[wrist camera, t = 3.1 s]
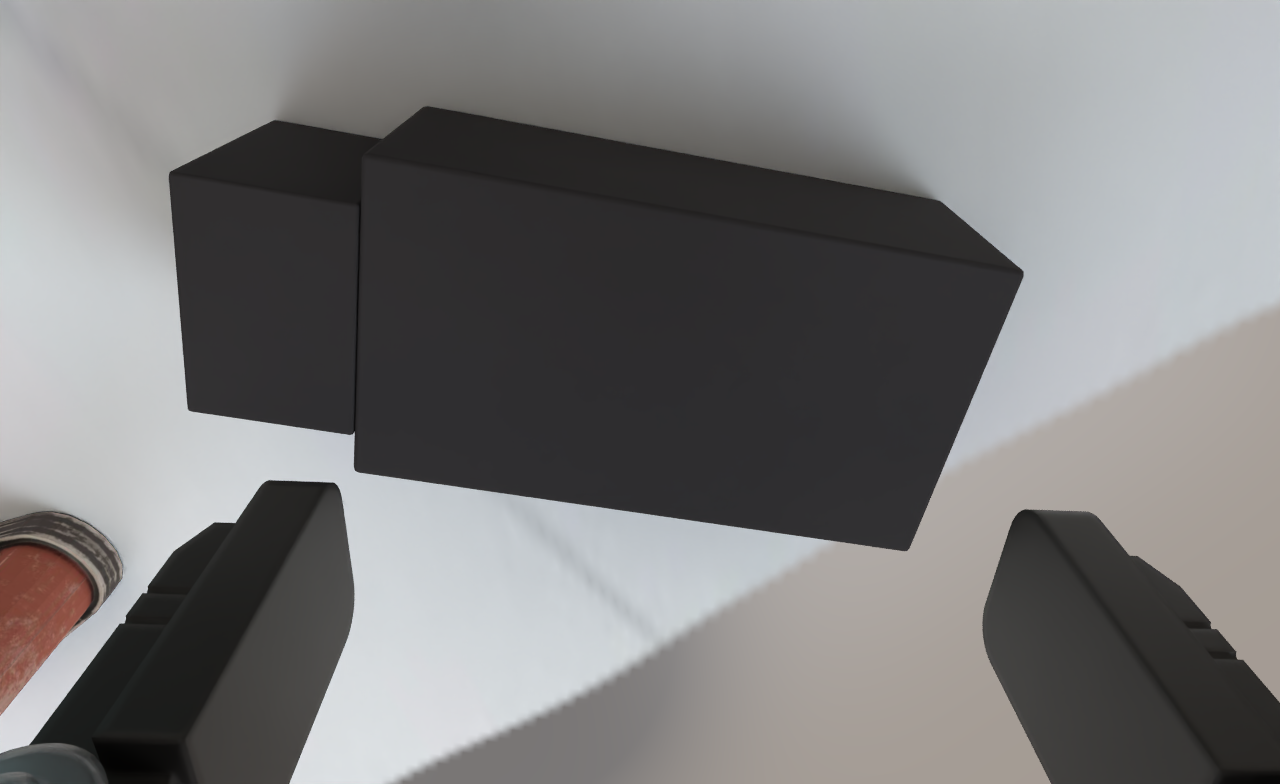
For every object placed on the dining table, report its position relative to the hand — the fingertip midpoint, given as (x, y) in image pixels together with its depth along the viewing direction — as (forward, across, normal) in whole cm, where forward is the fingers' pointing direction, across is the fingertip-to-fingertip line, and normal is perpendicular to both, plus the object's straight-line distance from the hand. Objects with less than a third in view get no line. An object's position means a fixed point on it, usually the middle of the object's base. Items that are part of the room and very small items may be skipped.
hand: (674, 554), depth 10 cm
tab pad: (+8, +1, 0) cm, 8 cm away
